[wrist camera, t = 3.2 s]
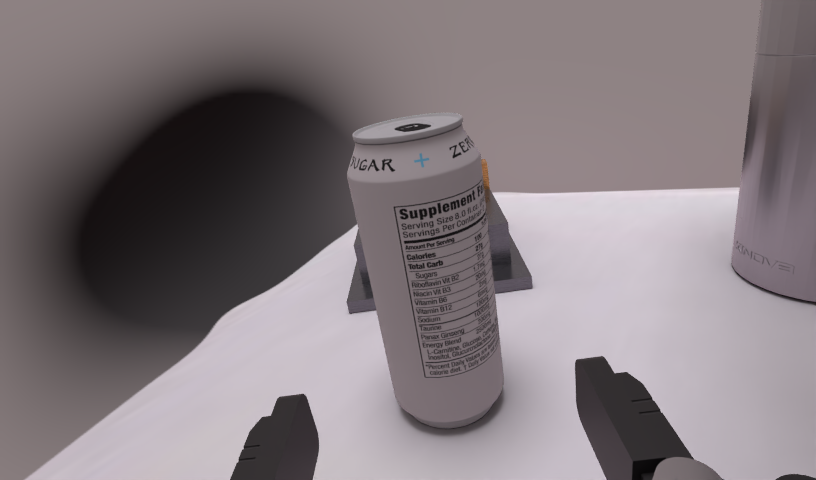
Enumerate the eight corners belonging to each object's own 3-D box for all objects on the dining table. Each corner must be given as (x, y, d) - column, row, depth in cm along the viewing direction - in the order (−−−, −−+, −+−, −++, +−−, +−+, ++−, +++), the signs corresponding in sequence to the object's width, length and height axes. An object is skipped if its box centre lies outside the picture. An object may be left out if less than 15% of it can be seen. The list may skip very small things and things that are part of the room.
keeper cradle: (499, 221, 48) (493, 155, 45) (532, 288, 35) (526, 199, 32) (365, 241, 49) (351, 177, 46) (349, 313, 36) (329, 229, 33)
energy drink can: (464, 347, 30) (431, 107, 24) (528, 401, 25) (505, 113, 19) (379, 388, 28) (320, 134, 22) (430, 456, 22) (371, 148, 17)
